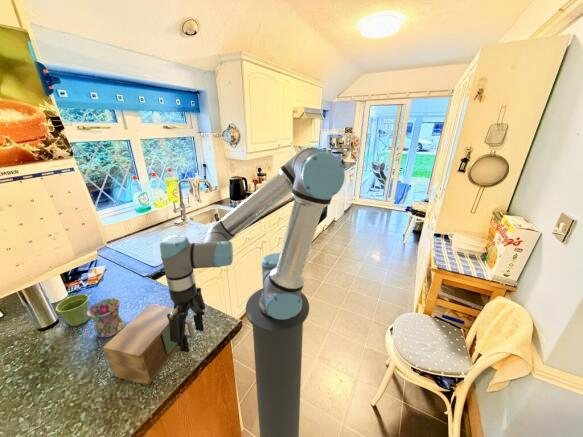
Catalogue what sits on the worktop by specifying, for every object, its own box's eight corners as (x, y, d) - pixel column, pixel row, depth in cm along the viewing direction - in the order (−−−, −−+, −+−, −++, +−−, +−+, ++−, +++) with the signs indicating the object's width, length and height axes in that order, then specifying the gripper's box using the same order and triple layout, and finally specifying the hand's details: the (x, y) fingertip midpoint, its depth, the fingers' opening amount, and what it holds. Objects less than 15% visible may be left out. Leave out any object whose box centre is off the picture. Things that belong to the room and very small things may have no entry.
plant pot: (56, 330, 86) (47, 311, 82) (77, 311, 94) (70, 294, 91) (82, 329, 86) (75, 311, 83) (101, 311, 95) (95, 293, 92)
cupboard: (187, 335, 84) (181, 309, 80) (148, 385, 68) (139, 356, 63) (157, 329, 87) (151, 303, 82) (113, 376, 70) (102, 347, 66)
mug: (103, 322, 89) (94, 300, 85) (130, 318, 92) (123, 296, 88) (86, 349, 79) (76, 325, 75) (118, 343, 81) (109, 320, 77)
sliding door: (197, 338, 81) (193, 317, 78) (184, 357, 75) (179, 335, 71) (181, 335, 83) (176, 314, 79) (166, 353, 76) (160, 331, 72)
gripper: (191, 265, 81) (200, 315, 90) (145, 306, 63) (161, 365, 71) (211, 267, 80) (218, 319, 88) (169, 310, 61) (183, 371, 70)
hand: (192, 339), depth 80 cm, fingers open, 8 cm apart
